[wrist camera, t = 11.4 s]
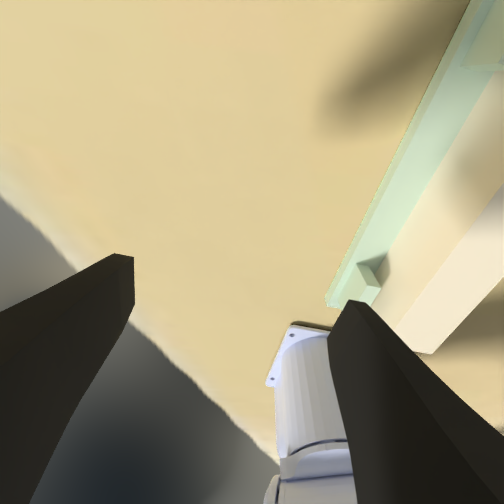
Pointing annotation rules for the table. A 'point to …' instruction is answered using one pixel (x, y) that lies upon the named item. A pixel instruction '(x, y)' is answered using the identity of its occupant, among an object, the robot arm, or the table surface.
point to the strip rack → (423, 147)
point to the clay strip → (450, 234)
